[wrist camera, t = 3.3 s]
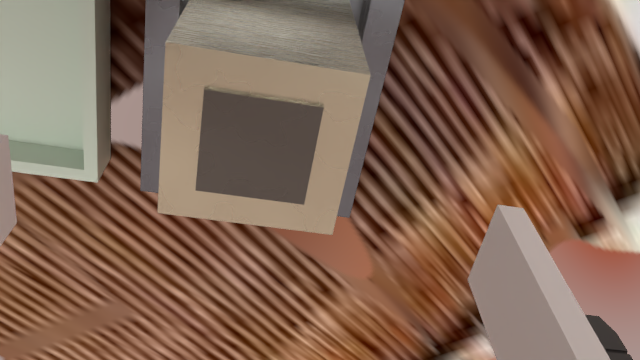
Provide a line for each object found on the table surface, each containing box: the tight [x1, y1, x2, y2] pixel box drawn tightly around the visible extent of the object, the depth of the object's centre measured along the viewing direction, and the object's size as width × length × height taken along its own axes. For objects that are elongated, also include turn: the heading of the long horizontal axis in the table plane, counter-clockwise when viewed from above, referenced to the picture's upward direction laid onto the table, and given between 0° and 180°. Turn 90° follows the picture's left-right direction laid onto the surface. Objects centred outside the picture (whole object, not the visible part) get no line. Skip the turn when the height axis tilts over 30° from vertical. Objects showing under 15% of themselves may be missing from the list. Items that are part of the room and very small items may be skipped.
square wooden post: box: [158, 0, 371, 235], centre depth 22 cm, size 6×6×9 cm
